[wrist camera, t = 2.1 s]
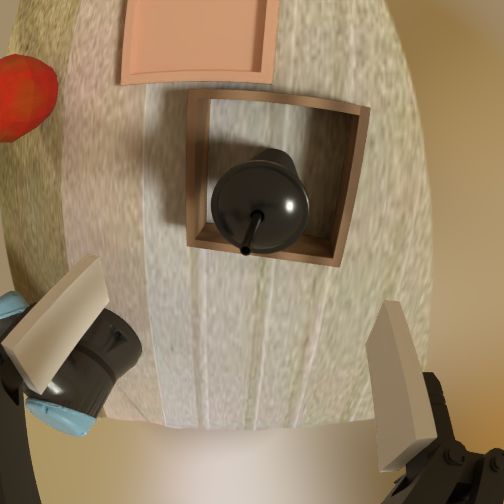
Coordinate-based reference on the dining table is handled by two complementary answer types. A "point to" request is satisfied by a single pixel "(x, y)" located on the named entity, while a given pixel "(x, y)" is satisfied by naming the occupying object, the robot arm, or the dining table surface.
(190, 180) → the wooden frame
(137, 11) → the tray
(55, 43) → the dining table surface
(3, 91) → the apple
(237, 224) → the drinking cup
